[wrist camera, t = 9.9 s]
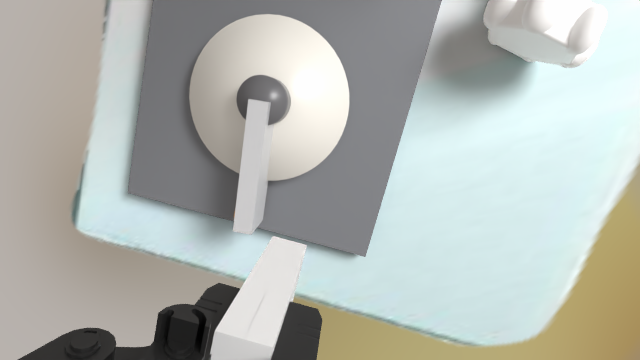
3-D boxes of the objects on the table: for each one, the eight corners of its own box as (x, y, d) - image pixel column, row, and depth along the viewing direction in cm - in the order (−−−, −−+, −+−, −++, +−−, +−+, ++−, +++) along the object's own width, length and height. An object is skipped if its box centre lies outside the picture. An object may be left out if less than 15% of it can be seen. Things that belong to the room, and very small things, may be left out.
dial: (201, 5, 31) (178, -10, 27) (363, 30, 30) (364, 18, 26) (184, 204, 35) (162, 217, 31) (327, 231, 34) (323, 248, 30)
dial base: (172, -68, 32) (162, -78, 30) (440, -4, 31) (444, -10, 29) (136, 189, 37) (126, 193, 35) (364, 250, 36) (365, 257, 34)
